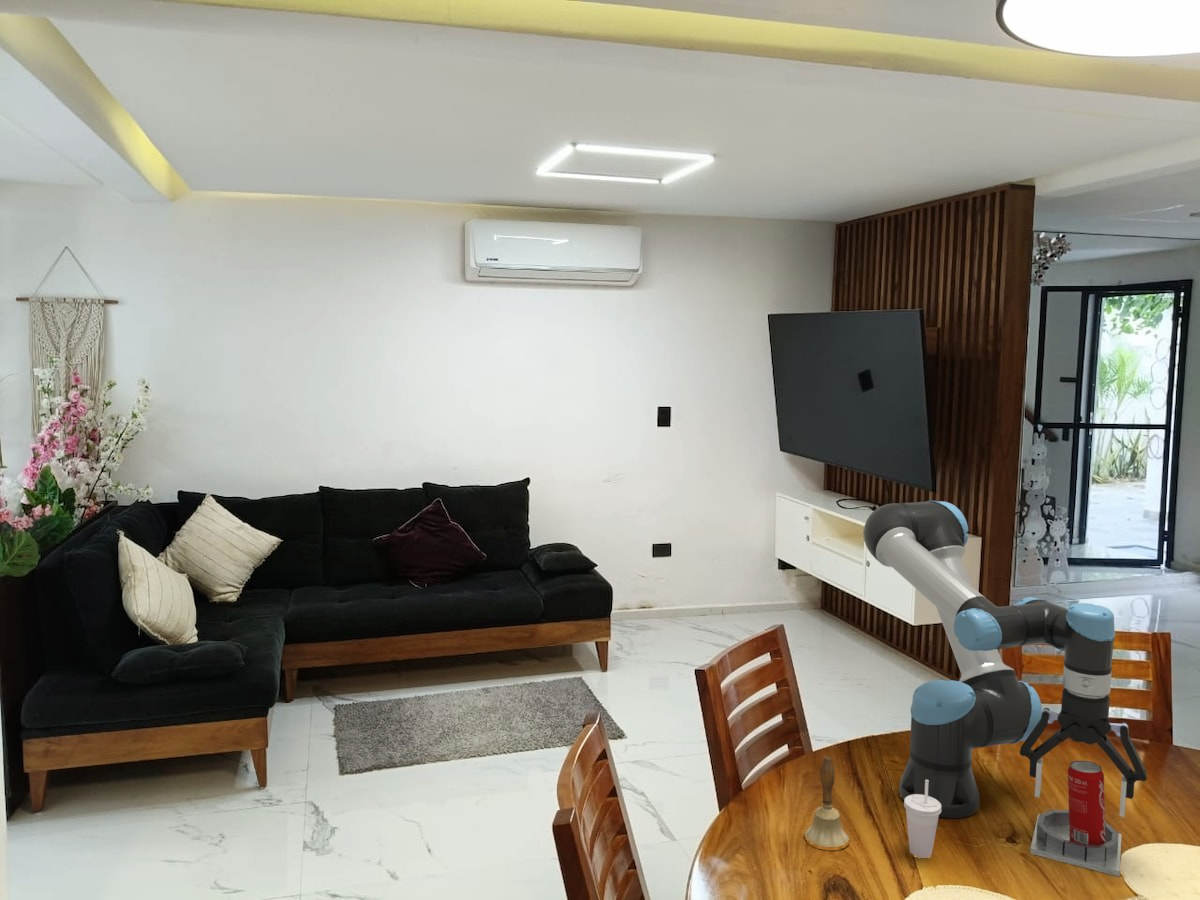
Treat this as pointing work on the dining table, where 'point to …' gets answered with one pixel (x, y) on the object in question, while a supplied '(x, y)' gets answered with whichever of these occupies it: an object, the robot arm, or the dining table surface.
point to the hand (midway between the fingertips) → (1079, 803)
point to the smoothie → (922, 822)
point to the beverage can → (1086, 803)
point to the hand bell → (827, 814)
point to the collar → (1074, 844)
